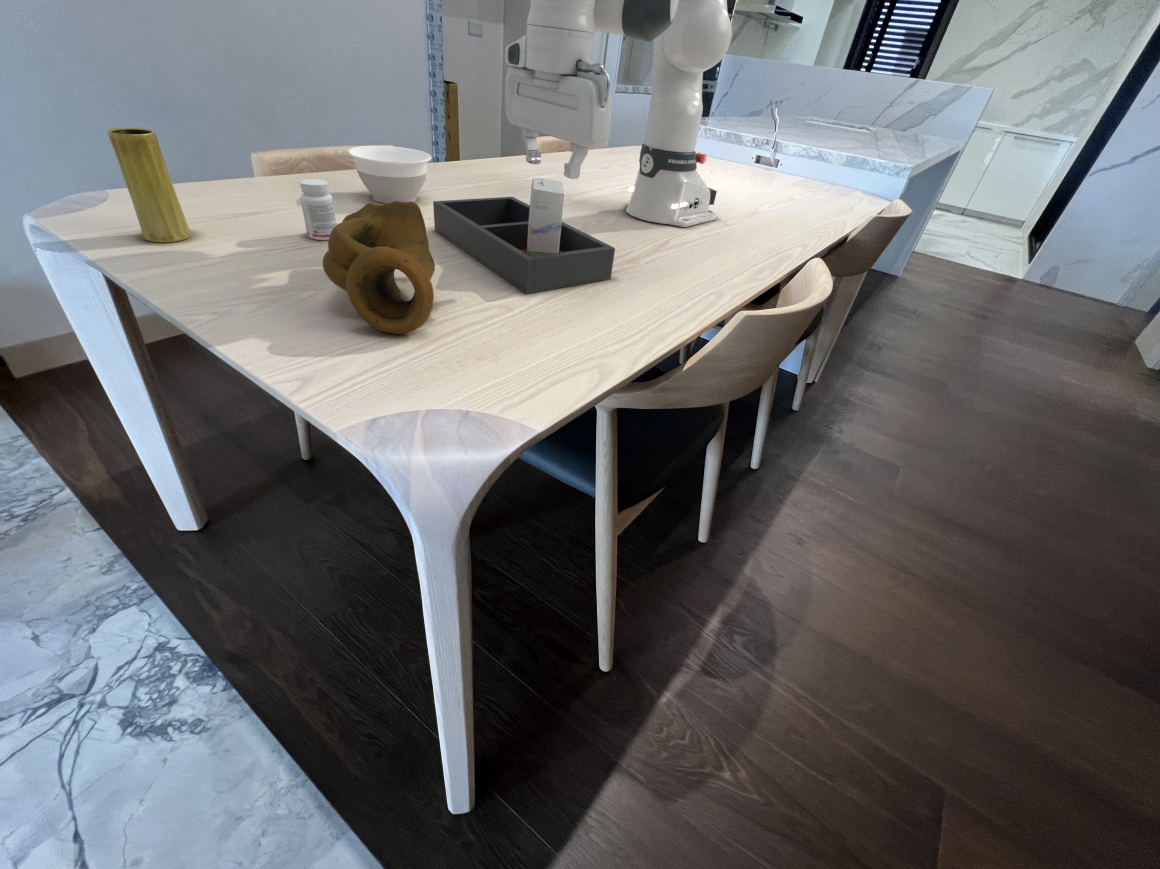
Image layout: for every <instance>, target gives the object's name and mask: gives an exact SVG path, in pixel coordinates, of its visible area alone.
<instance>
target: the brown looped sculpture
mask: <svg viewBox="0 0 1160 869" xmlns="http://www.w3.org/2000/svg"><path fill="white" fill-rule="evenodd" d="M327 241H328V242H327V247H328V250H327V251H326V252H325V253H324V255H323V258H322V269H323V272H324V273H325V275H326V277H327V278H328V279H329V280H330V281H331V282H332V283H333V284H334V285H336V286H337V287H339V288H341V289H342V290H344V291H346V293H347V298H348V301H349V303H350V304H351V305H352V307H353V309H354V310H355V312H356V313H357V314H358V316H359V317H360V318H361V319H362V320H363V321H364V322H365V323H367V325H369V326H371V327H372V328H374V329H376V330H377V331H379V332H382V333H385V334H393V335H405V334H408V333H411V332H414V331H416V330H417V329H419V328H420V327H422V326H423V325H424V324H425V323H426V322H427V321H428V319H429V317H430V316H431V314H432V311H433V306H434V300H435V297H434V296H435V294H434V293H435V292H434V287H433V284H432V282H431V280H432V278H433V275H434V273H435V272H436V271H435V270H436V263H435V260H434V258H433V255H432V253H431V251H430V246H429V244H430V243H429V238H428V235H427V227H426V224H425V219H424V216H423V213H422V210H421V207H420V206H419V205H418V204H417V203H416V202H400V201H394V202H391V203H383V204H374V203H371V202H367V203H366V204H365V205H364V206H363V207H361V208H359V209H358V210H356V211H355V212H352V213H350V214H347V215H346V216H344V218H343V220H342V221H341V222H339V223H337V225H336V226H335V227H334V228H333V230H332V231H331V234H330V237H329V240H327ZM396 270H398V271H400V272H401V273H402V274H404V276H406V278H407V279H408V280H409V281H410V283H411V285H412V287H413V290H414V292H413V296H412V297H411V299H410V300H406V299H404V298H403V297H402V295H401V289H400V287H399V286H398V285H397V282H396V280H395V278H396V277H395V271H396Z"/></svg>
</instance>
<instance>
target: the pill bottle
mask: <svg viewBox="0 0 1160 869" xmlns="http://www.w3.org/2000/svg"><path fill="white" fill-rule="evenodd" d="M299 184H300V190H301V195H300V203H301V209H302V213H303V219H304V224H305V230H306V234H307V236H308V238H310V239H313V240H317V241H329V237H330V234H331V231H332V230H333V228H334V227H335V226H336V225H338V223H337V218H336V211H335V205H334V198H333V196H332V195H331V194H330V188H329V184H328V181H327V180H325V179H324V180H323V179H317V178H310V179H309V178H308V179H303V180H300V182H299Z"/></svg>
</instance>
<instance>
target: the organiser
mask: <svg viewBox="0 0 1160 869" xmlns="http://www.w3.org/2000/svg"><path fill="white" fill-rule="evenodd" d="M432 205H433V207H432V208H433V222H434V231H435V232H436V233H438V234H439V235H441V236H442V237H444V238H445V239H446V240H448V241H449V242H451V243H453V244H454V245H455V246H456V247H458V248H459V249H461V250H462V251H464V252H465V253H467V254H468V255H469V256H471V257H472V258H474V259H475V260H476V261H478V262H479V263H481V264H482V265H484V266H485V267H487V268H488V269H490V271H493V272H494V273H495V274H497V275H498V276H500V278H502V279H504V280H505V281H507V282H508V283H510V285H513V287H515V288H517V289H519V290H520V291H521V292H523V293H524V294H526V295H528V294H534V293H539V292H544V291H545V292H546V291H550V290H551V291H552V290H557V289H562V288H567V287H574V286H579V285H585V284H591V283H597V282H603V281H607V280H611V279H612V274H613V273H612V272H613V266H614V259H615V251H616V248H615V247H614V246H611V245H610V244H608V243H606V242H604V241H601V240H600V239H598V238H596V237H594V236H592V235H590V234H587V233H586V232H584V231H583V230H580V229H579V228H576V227H574V226H572V225H570V224H568V223H566V222H564V221H562V224H561V234H560V243H559V252H558V253H553V254H545V255H538V256H531V257H530V256H529V255H527V238H528V223H529V210H530V204H528V203H527V202H525V201H522V200H519V199H518V198H516V197H514V196H500V197H499V196H498V197H497V196H496V197H482V198H466V199H465V198H464V199H449V200H433V201H432Z"/></svg>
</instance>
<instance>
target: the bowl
mask: <svg viewBox="0 0 1160 869" xmlns="http://www.w3.org/2000/svg"><path fill="white" fill-rule="evenodd" d="M347 154H348V155H349V156H350V157H351V158H353V161H354V166H355V170H356V172H357V175H358V177H359V179H360V181H361V183H362V184H363V185H364V187H365V188H366V189H367V191H369V193H370V194H371V196H372V199H373V200H374V201H375V202H378V203H383V204H388V203H391V202H394V201H400V202H414V203H416V201H417V196H418V194H419V193H420V191H421V190H422V188H423V187H424V184H425V182H426V178H427V173H428V166H427V165H428V163H429V162H430V161H432V155H431V154H430V153H428V152H426V151H423V150H421V149H420V150H419V149H415V148H410V147H403V146H394V145H361V146H355V147H352V148H349V149H348V150H347Z"/></svg>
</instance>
